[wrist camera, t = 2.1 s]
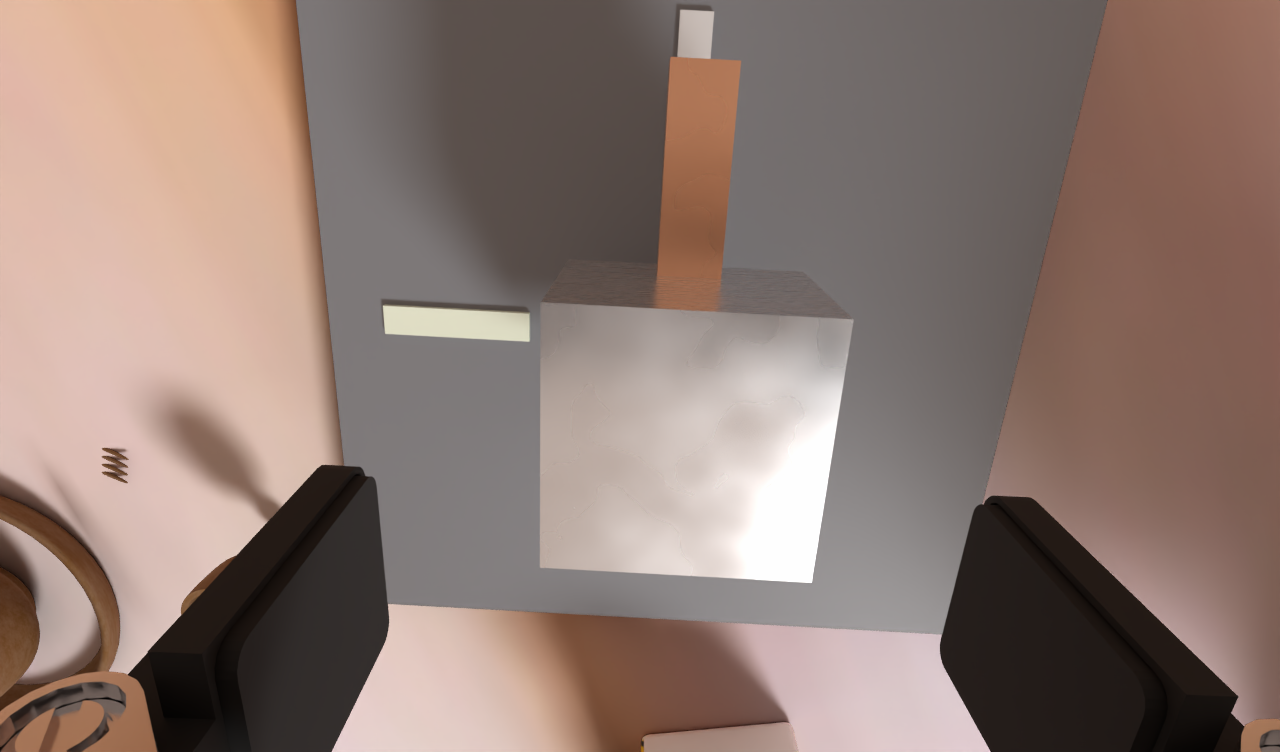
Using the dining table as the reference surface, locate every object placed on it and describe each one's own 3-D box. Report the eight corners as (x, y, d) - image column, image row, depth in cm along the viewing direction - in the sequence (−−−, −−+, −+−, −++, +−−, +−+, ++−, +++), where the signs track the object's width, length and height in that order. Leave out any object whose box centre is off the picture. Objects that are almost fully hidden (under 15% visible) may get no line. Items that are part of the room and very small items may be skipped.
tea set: (-160, 377, 28) (-363, 439, 22) (334, 495, 29) (260, 581, 24) (-116, 703, 34) (-268, 817, 28) (295, 789, 35) (228, 913, 29)
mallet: (830, 71, 17) (897, 50, 12) (776, 480, 21) (811, 582, 16) (572, 58, 17) (541, 30, 12) (565, 469, 21) (539, 567, 16)
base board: (1078, -29, 22) (1122, -46, 20) (931, 602, 30) (951, 638, 28) (318, -70, 22) (282, -91, 20) (377, 572, 30) (356, 605, 28)
